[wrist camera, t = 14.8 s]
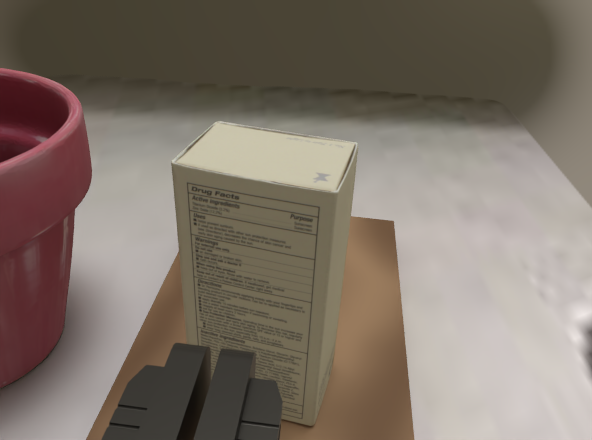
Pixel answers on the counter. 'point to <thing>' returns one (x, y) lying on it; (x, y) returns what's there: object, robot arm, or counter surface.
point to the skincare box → (266, 251)
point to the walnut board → (348, 350)
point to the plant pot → (37, 214)
